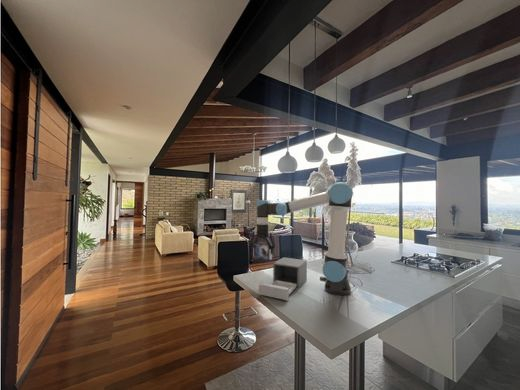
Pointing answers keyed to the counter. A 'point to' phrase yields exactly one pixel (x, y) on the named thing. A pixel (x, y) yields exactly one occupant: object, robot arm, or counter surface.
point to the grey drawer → (277, 289)
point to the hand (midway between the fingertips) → (262, 258)
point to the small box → (261, 251)
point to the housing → (290, 271)
